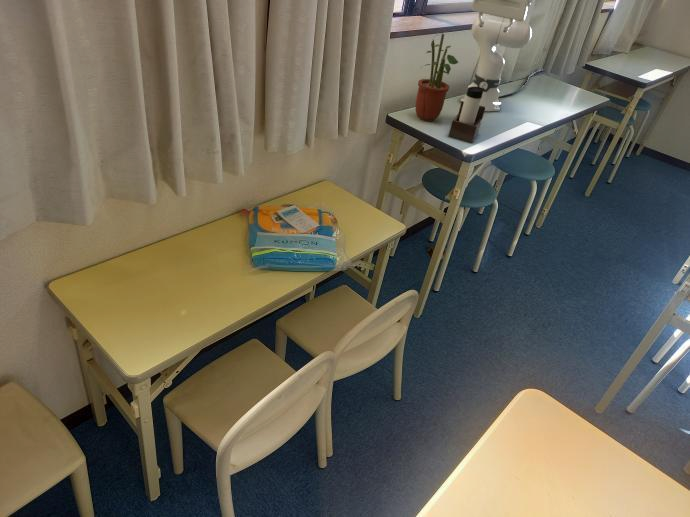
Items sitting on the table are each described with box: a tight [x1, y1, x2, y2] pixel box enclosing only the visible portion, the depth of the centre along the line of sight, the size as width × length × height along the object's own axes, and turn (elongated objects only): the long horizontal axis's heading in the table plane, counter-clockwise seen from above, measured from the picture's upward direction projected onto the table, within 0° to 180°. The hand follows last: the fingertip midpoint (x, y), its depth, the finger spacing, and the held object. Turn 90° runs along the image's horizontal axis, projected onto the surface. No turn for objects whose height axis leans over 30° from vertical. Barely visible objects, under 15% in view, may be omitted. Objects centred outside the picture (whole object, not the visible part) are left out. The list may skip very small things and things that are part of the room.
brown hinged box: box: [447, 101, 486, 144], centre depth 198 cm, size 11×10×12 cm
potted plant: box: [415, 32, 460, 122], centre depth 204 cm, size 17×16×35 cm
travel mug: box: [459, 87, 485, 125], centre depth 196 cm, size 6×7×20 cm
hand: (492, 29), depth 185 cm, fingers open, 8 cm apart
